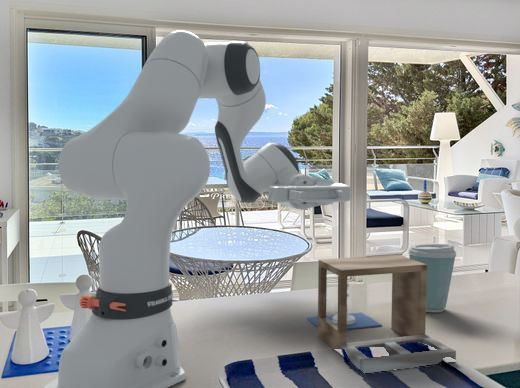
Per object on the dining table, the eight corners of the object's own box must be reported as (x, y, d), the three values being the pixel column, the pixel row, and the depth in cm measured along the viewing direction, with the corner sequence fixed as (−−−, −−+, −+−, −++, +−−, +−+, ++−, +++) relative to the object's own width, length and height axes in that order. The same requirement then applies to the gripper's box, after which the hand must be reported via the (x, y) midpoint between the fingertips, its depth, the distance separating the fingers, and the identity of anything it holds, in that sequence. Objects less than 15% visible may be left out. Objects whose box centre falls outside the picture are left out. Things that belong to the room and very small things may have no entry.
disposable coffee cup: (401, 311, 122) (403, 245, 121) (411, 300, 132) (413, 239, 131) (451, 318, 117) (453, 249, 116) (457, 306, 127) (459, 242, 126)
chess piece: (339, 316, 118) (339, 270, 117) (359, 320, 115) (360, 274, 114) (327, 321, 114) (328, 275, 113) (348, 326, 111) (349, 278, 110)
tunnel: (317, 336, 106) (318, 259, 105) (396, 328, 111) (398, 254, 110) (364, 374, 88) (365, 281, 86) (455, 362, 93) (458, 274, 91)
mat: (307, 319, 117) (307, 317, 117) (361, 313, 121) (361, 312, 121) (324, 332, 108) (324, 330, 108) (381, 326, 112) (381, 324, 112)
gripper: (261, 179, 134) (279, 182, 121) (336, 179, 140) (361, 181, 127) (260, 205, 134) (278, 210, 121) (336, 203, 140) (361, 208, 127)
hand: (322, 195), depth 124 cm, fingers open, 8 cm apart
